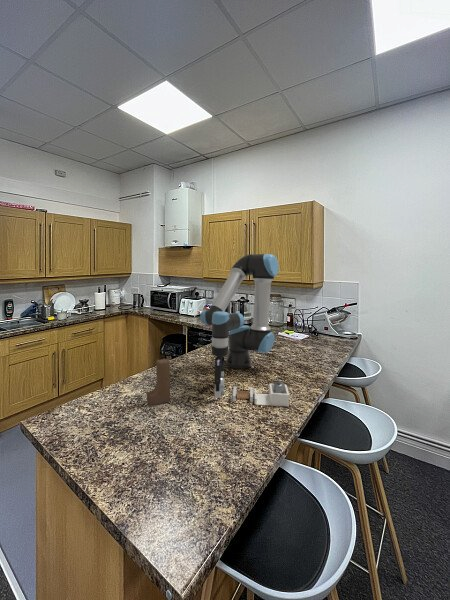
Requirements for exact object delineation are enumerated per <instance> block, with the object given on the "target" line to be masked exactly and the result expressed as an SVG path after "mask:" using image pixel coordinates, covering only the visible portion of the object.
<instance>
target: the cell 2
mask: <svg viewBox="0 0 450 600" xmlns="http://www.w3.org/2000/svg"><path fill="white" fill-rule="evenodd" d="M273 384H274V393H282V394H284V384H285V383H284V382H282V381H278V380H277V381H275V382H273Z"/></svg>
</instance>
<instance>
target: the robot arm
mask: <svg viewBox="0 0 450 600" xmlns="http://www.w3.org/2000/svg"><path fill="white" fill-rule="evenodd" d="M279 268H280V267H279V261H278V258H277V257H276V256H275V255H274V254H272V253H270V254H269V253H259V254H258V253H257V254H252V253H250V254H246V255H244V256H242V257H240V258H239V259H238V260H237V261H236V262H234V264H233V265H232V267H231V268H230V271H229V275H228V277H227V279H226V280H225V282H224V284H223V285H222V287H221V289H220V291H219V292H218V294H216V297H215V299H214V301H212V303H211V305H210V307H209V309H205V310H202V311H201V312H200V315H199V318H200V319H199V320H200V322H201V324H203V325H206V326H209V327H210V326H211V332H212V333H211V338H210V341H211V354H212V356H214V357H215V359H214V363H215V364H214V377H213V378H214V380H213V382H212V384H214V399H215V398H216V399H217V398H218V399H221V398H222V395H221V376H223V377H224V378H225V371H226V368H225V365H226V366H227V367H228V368H230V369H234V370H235V369H237V370H242V369H248V368H250V367H251V366H252V359H251V358H252V357H251V355H250V351H253V352H257V353H259V354H260V353H261V354H268V353H269V352H270V351H271V350H272V348H273V346H274V344H275V340H276V339H275V335H274V333H273V332H272V328H271V327H270V326H269V323H270V322H269V321H270V319H269V318H270V305H271V304H270V302H271V288H272V287H271V284H272V282H273V281H274V280H275V277H276V276H277V275H278V274H279V270H280V269H279ZM249 276H252V280H253V281H254V296H253V317H252V324H251V326H249V325H245V318H244V315H243V314H242V313H240V312H233V313H232V312H231V313H230V312H227V311H226V310H227V308H228V306H229V304H230V302H231V301H232V299H233V297H234V296H235V294H236V292H237V291H238V288H239V287H240V285H241V283H242V281H244V280H246V278H247V277H249ZM225 357H226V359H225Z"/></svg>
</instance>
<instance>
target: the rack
mask: <svg viewBox="0 0 450 600" xmlns="http://www.w3.org/2000/svg"><path fill="white" fill-rule="evenodd" d="M268 387H269V389H268V390H269V392H268V393H257V388H254V389H253V400H254V405H259V406H275V407H290V392H289V389H288V386H287V384H285V383H284V394H282V393H274V383H269V386H268Z"/></svg>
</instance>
